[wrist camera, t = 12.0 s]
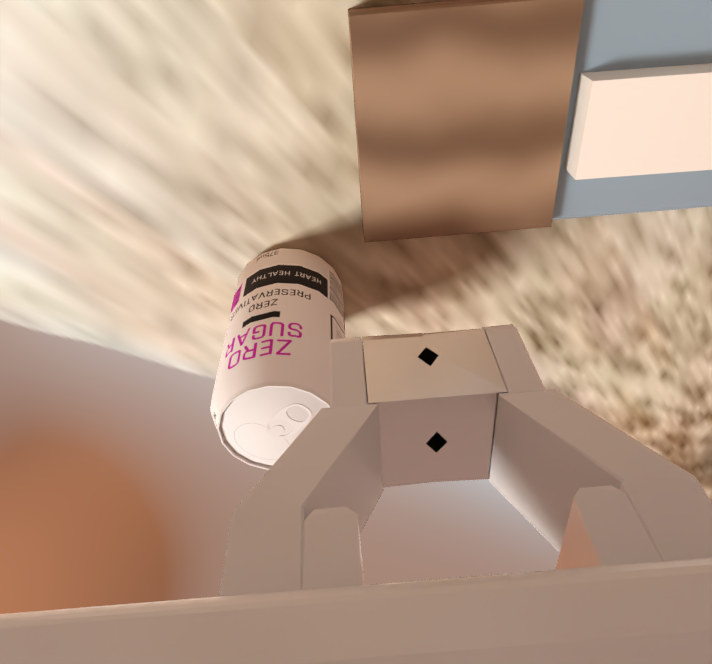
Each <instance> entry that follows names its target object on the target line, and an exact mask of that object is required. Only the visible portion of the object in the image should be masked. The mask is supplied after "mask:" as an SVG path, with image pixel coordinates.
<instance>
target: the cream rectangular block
mask: <svg viewBox="0 0 712 664" xmlns="http://www.w3.org/2000/svg"><path fill="white" fill-rule="evenodd" d="M565 169H566V170H567V171H568V172H569V173H570V175H571V176H572V177H573V178H574V179H575V180H580V179H594V178H607V177H621V176H634V175H648V174H661V173H675V172H688V171H702V170H712V63H708V64H694V65H680V66H667V67H653V68H640V69H626V70H613V71H599V72H586V73H580V79H579V85H578V91H577V97H576V103H575V110H574V116H573V122H572V128H571V134H570V140H569V146H568V152H567V159H566V165H565Z"/></svg>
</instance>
